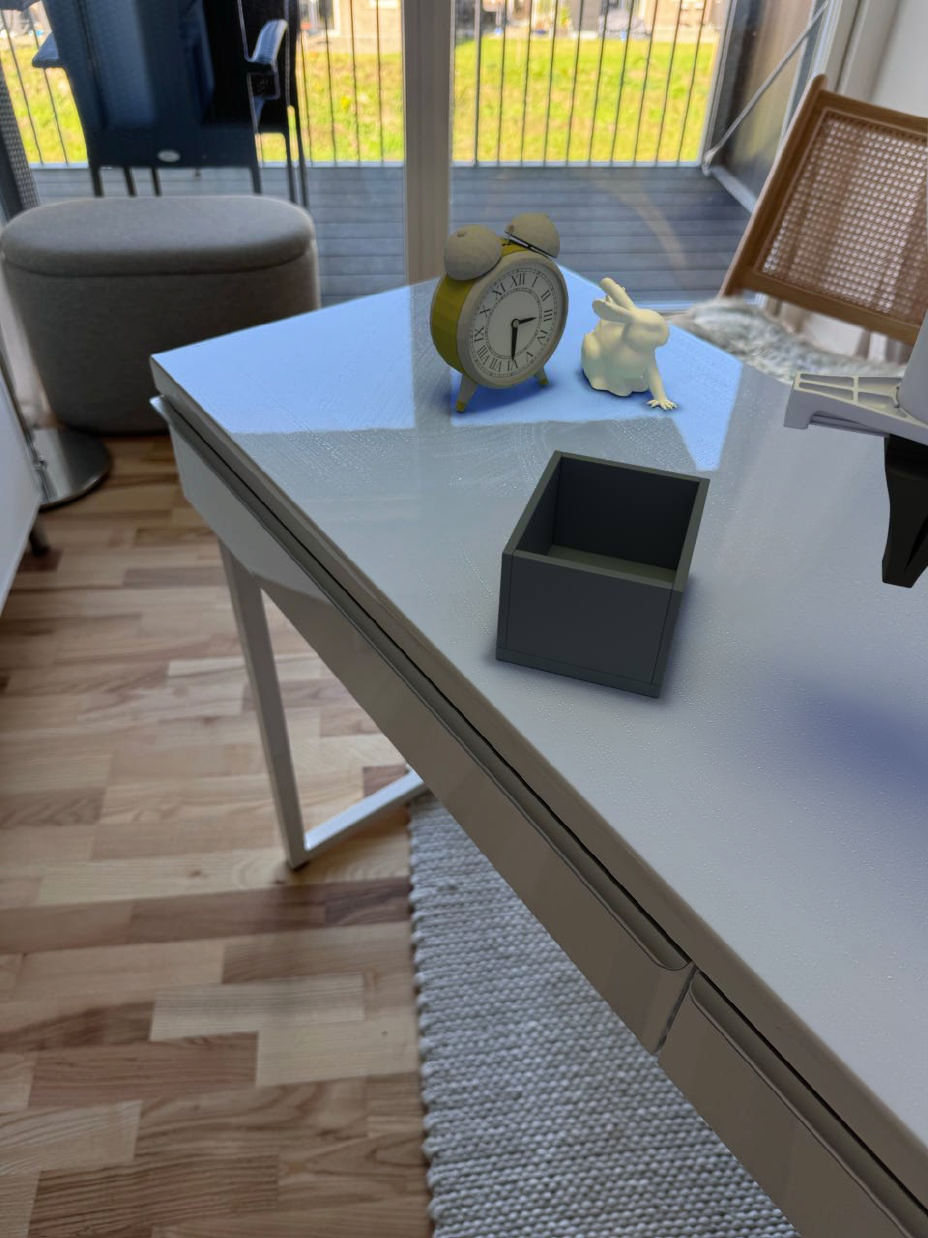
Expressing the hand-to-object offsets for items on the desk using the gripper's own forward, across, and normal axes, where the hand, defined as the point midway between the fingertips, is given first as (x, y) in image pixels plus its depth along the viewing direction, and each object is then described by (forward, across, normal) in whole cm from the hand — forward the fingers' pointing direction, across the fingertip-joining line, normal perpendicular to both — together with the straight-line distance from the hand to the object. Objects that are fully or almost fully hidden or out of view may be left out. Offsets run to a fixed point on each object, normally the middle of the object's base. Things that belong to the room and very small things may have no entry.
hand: (896, 574), depth 46 cm
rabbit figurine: (+11, +21, -37) cm, 44 cm away
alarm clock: (+11, +31, -32) cm, 46 cm away
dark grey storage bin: (+6, +10, -4) cm, 13 cm away
